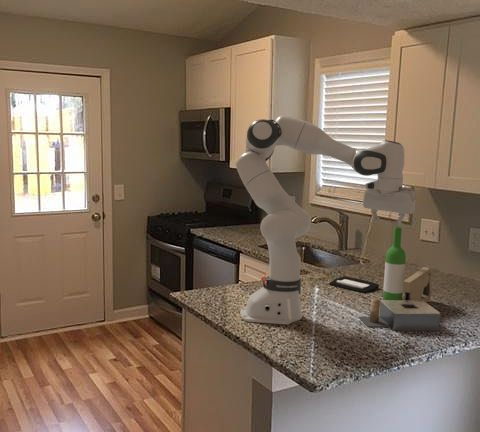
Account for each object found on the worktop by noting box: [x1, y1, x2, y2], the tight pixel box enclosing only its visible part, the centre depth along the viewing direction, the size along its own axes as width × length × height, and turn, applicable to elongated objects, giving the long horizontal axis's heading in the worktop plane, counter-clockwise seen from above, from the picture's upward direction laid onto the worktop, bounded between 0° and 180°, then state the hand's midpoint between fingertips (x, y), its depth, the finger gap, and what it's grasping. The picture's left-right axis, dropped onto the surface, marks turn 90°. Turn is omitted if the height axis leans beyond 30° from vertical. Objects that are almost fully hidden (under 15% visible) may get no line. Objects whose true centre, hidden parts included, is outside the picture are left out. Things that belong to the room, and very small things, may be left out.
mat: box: [358, 315, 390, 328], centre depth 185 cm, size 8×10×1 cm
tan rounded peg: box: [369, 297, 381, 323], centre depth 185 cm, size 3×3×8 cm
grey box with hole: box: [379, 299, 441, 332], centre depth 185 cm, size 16×14×6 cm
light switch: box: [328, 275, 380, 294], centre depth 232 cm, size 20×3×14 cm
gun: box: [402, 266, 433, 303], centre depth 204 cm, size 24×3×15 cm, turn 141°
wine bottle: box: [382, 226, 407, 300], centre depth 212 cm, size 8×8×30 cm
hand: (386, 223), depth 192 cm, fingers open, 8 cm apart
